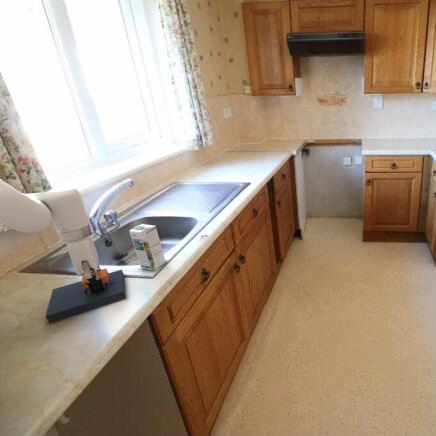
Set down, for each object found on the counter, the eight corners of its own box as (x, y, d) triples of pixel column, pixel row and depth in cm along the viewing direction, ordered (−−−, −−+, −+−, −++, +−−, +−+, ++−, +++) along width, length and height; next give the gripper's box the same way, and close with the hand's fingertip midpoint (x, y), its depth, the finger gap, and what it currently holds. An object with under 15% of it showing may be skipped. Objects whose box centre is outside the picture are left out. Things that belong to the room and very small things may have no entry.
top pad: (86, 295, 93) (81, 283, 91) (87, 287, 96) (82, 274, 95) (111, 288, 95) (106, 276, 93) (111, 280, 99) (106, 268, 97)
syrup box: (140, 269, 108) (127, 230, 102) (153, 259, 113) (142, 222, 107) (154, 271, 107) (141, 232, 101) (167, 261, 112) (155, 224, 106)
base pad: (49, 323, 86) (45, 316, 85) (55, 295, 97) (52, 289, 96) (126, 298, 94) (123, 291, 93) (124, 275, 105) (121, 269, 104)
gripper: (62, 224, 93) (85, 277, 101) (55, 249, 80) (81, 307, 87) (93, 218, 96) (113, 269, 104) (91, 240, 83) (113, 297, 91)
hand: (98, 286), depth 96 cm, fingers closed on top pad, 5 cm apart
